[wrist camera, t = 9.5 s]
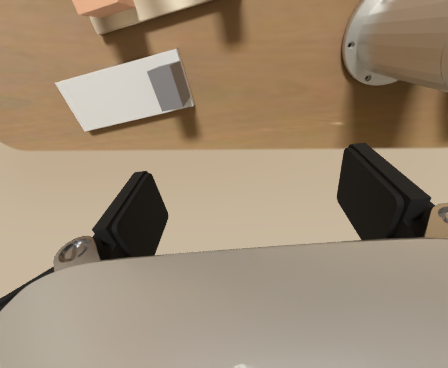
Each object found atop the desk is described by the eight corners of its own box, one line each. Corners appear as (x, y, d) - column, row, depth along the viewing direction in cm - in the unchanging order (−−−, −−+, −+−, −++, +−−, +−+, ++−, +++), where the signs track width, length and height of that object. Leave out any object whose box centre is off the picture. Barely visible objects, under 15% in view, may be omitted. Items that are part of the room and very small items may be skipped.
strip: (177, 48, 31) (164, 51, 25) (194, 104, 35) (186, 117, 30) (59, 81, 34) (23, 91, 28) (88, 129, 39) (62, 145, 33)
